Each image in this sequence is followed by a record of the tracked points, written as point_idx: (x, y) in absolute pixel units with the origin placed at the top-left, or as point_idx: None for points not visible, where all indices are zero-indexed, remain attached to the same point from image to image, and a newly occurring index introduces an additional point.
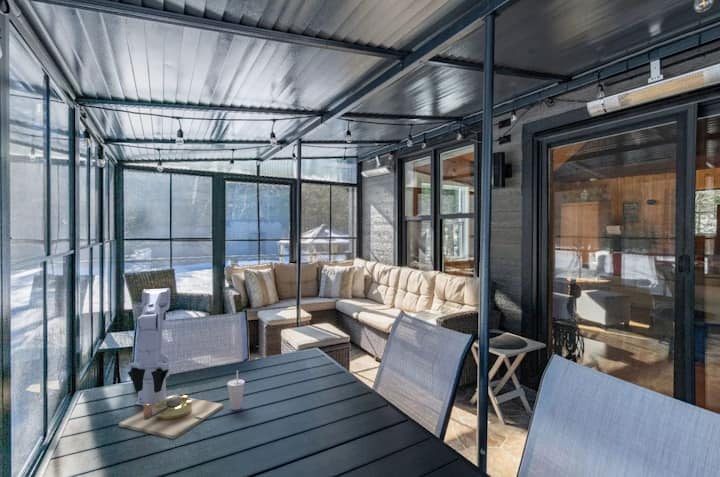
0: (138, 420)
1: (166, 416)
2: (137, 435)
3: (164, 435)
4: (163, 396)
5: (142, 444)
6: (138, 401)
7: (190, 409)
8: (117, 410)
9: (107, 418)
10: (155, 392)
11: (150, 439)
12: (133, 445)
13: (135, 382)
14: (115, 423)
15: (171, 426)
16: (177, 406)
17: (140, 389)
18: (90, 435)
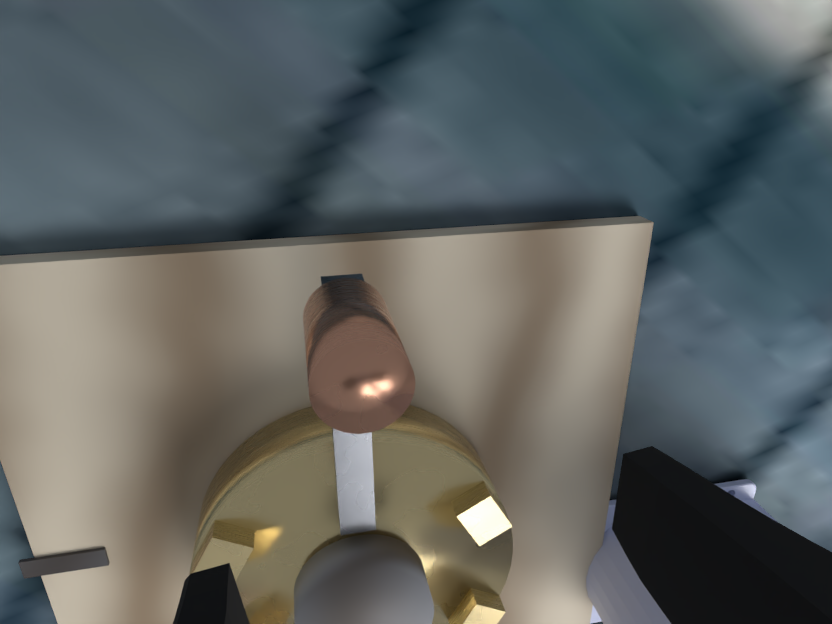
0: (529, 324)
1: (280, 440)
2: (352, 169)
3: (78, 255)
4: (603, 613)
5: (145, 62)
6: (754, 502)
7: None
8: (819, 371)
9: (810, 264)
10: (207, 572)
11: (165, 164)
12: (213, 11)
13: (783, 580)
14: (696, 236)
15: (149, 377)
16: (288, 574)
17: (626, 520)
18: (752, 3)
